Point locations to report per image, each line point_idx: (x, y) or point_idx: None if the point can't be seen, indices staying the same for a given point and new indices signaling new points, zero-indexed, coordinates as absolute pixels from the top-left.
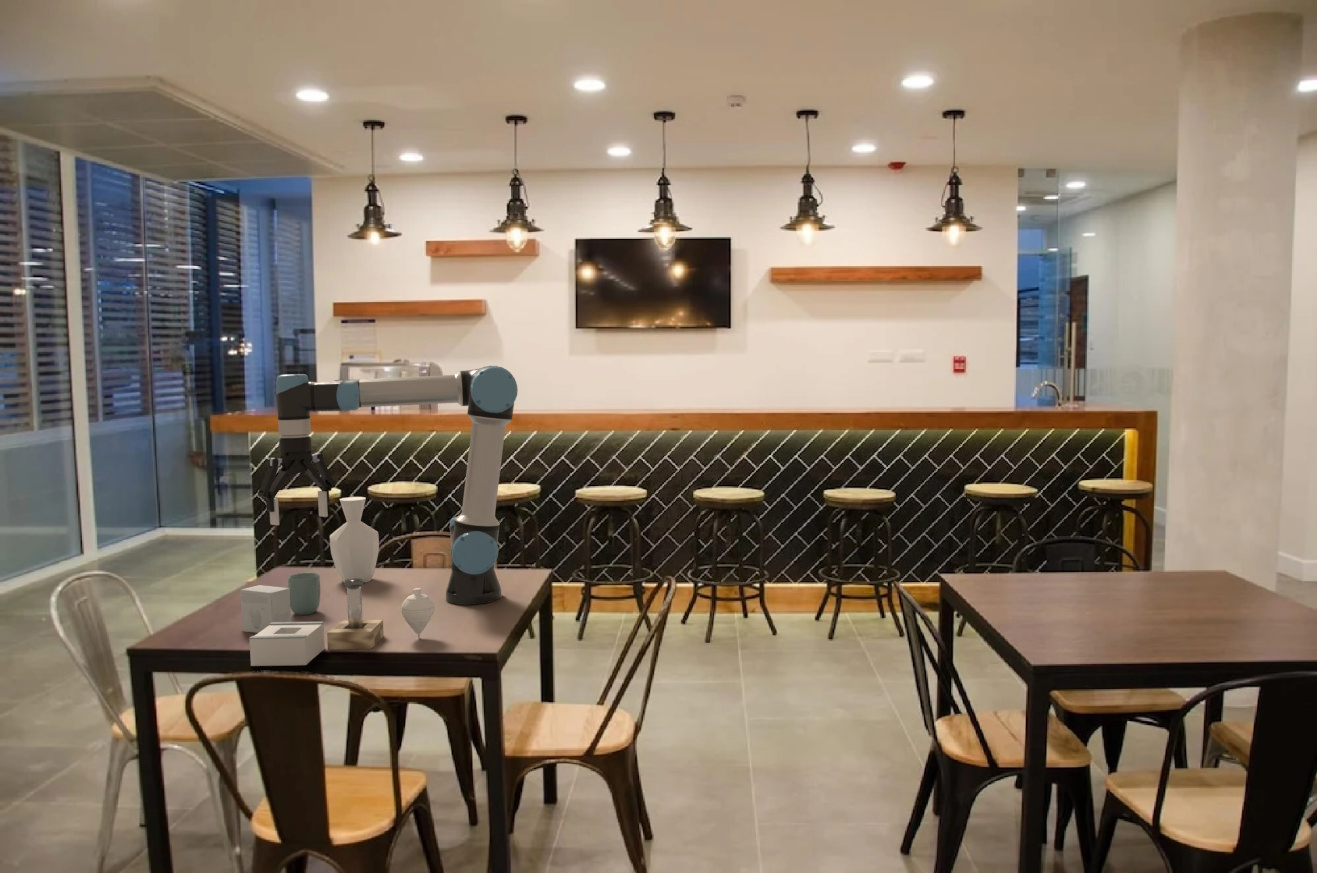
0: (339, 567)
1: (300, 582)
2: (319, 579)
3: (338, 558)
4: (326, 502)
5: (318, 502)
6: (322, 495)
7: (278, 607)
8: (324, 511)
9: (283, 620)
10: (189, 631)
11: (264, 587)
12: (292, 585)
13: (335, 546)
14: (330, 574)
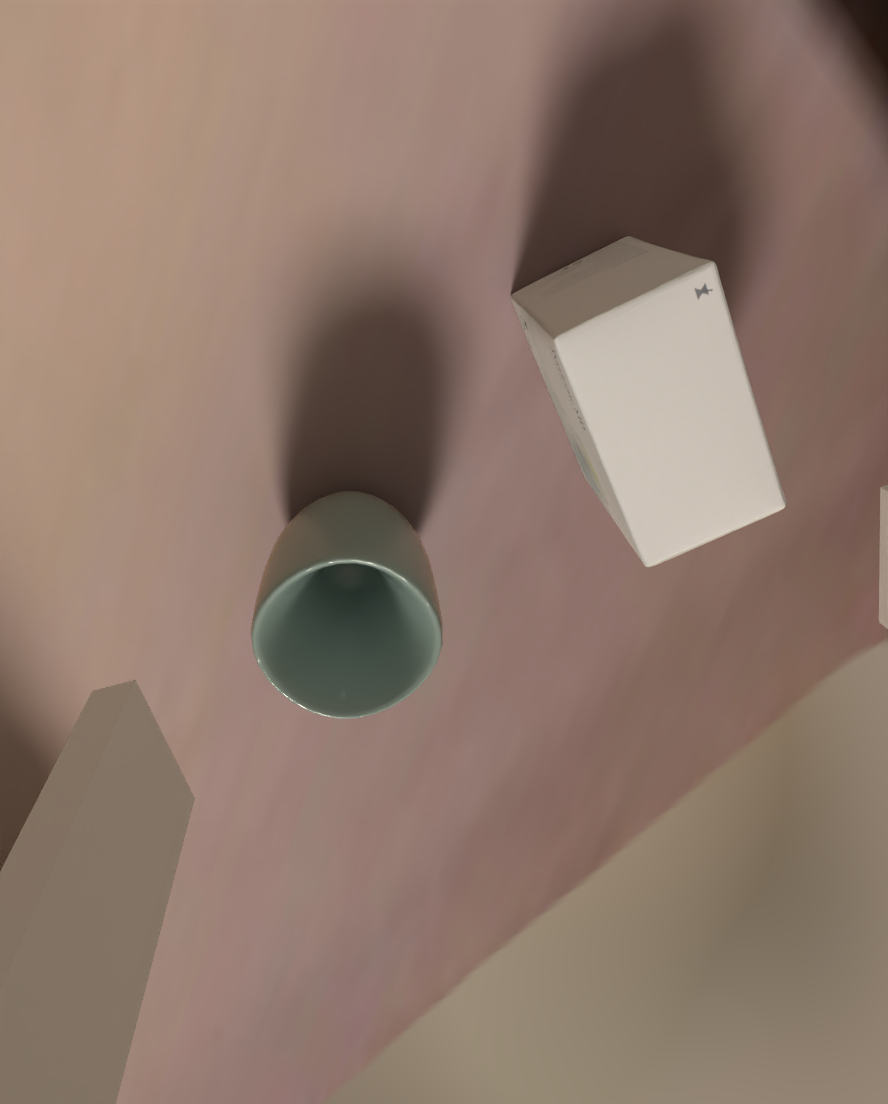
0: None
1: (395, 559)
2: (262, 589)
3: None
4: (18, 858)
5: (147, 966)
6: (35, 1020)
7: (624, 270)
8: (118, 741)
9: (571, 275)
10: (840, 571)
11: (666, 461)
12: (430, 585)
13: None
14: None
